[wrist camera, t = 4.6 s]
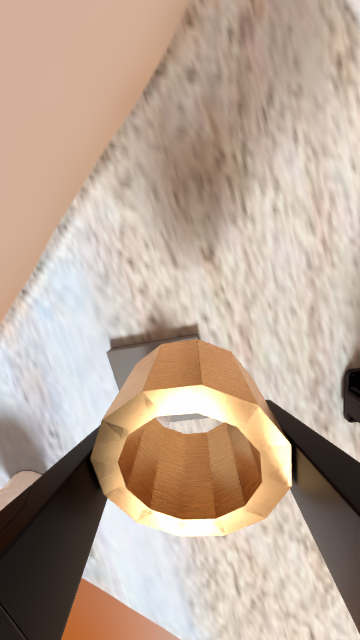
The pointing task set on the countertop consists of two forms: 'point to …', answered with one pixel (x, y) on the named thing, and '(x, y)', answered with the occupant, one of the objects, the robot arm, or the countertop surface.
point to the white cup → (17, 486)
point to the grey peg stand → (132, 354)
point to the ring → (192, 445)
